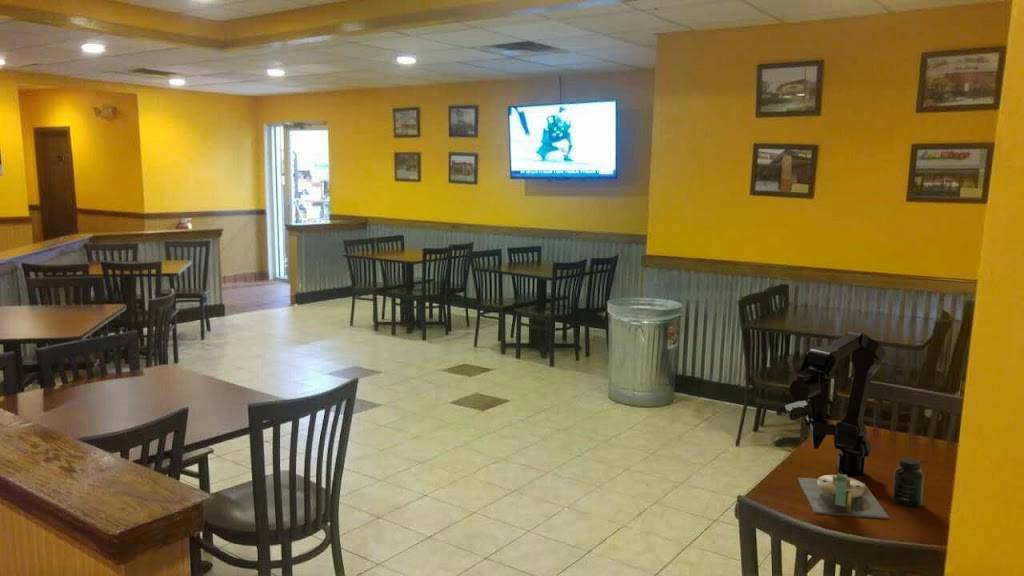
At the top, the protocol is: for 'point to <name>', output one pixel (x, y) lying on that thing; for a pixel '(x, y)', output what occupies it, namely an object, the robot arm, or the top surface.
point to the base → (826, 505)
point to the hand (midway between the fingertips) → (815, 448)
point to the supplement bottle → (908, 483)
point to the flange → (840, 487)
